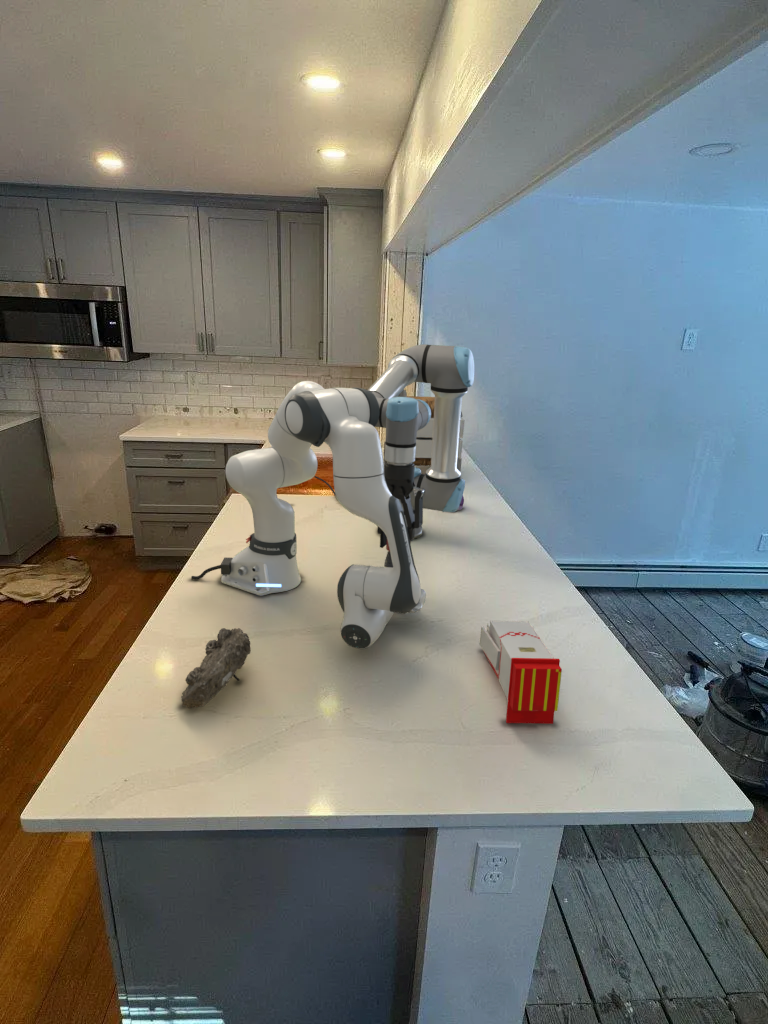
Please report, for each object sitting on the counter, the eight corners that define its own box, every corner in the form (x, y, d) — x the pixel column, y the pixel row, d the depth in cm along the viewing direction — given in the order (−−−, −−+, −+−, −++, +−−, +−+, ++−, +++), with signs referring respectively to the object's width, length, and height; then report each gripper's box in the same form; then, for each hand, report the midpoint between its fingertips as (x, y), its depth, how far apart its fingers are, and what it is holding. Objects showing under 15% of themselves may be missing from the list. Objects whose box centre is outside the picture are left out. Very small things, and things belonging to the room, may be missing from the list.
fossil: (203, 630, 128) (250, 600, 123) (232, 659, 131) (279, 630, 126) (159, 702, 109) (213, 669, 104) (194, 733, 111) (249, 703, 106)
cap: (407, 549, 147) (408, 540, 146) (394, 554, 144) (395, 545, 143) (395, 544, 150) (395, 535, 149) (382, 548, 147) (382, 539, 146)
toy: (526, 605, 135) (570, 665, 105) (521, 658, 137) (563, 730, 108) (475, 604, 134) (506, 664, 105) (472, 657, 137) (500, 729, 108)
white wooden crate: (382, 463, 289) (386, 382, 275) (445, 464, 293) (451, 384, 279) (390, 482, 257) (394, 392, 243) (460, 483, 261) (468, 394, 247)
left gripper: (419, 601, 135) (433, 577, 147) (339, 585, 140) (358, 563, 153) (418, 624, 137) (431, 598, 149) (339, 608, 142) (358, 584, 155)
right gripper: (441, 464, 139) (434, 550, 146) (371, 453, 146) (368, 536, 154) (430, 471, 132) (423, 561, 140) (358, 459, 139) (355, 545, 147)
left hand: (394, 580), depth 151 cm, fingers closed on bottle, 5 cm apart
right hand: (395, 548), depth 147 cm, fingers open, 6 cm apart
